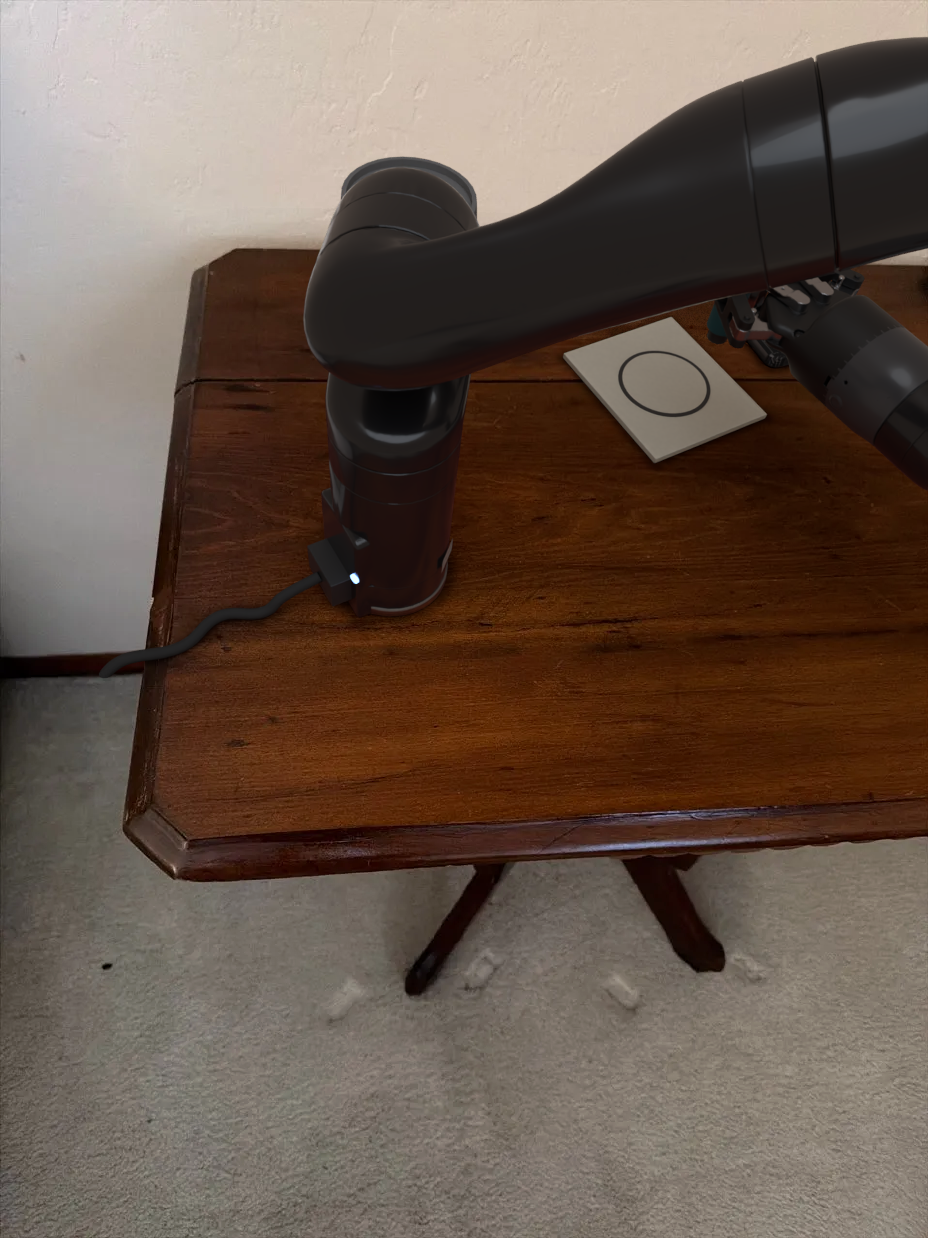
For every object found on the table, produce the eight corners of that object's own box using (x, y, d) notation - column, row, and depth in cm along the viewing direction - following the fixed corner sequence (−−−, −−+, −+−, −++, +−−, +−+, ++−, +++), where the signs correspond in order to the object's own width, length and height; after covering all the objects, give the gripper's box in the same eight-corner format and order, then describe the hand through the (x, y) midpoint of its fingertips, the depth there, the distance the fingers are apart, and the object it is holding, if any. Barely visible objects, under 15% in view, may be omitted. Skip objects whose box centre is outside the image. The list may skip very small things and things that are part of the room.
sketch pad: (654, 463, 83) (656, 458, 83) (562, 357, 90) (563, 352, 90) (765, 418, 88) (767, 413, 87) (669, 320, 95) (671, 315, 94)
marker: (733, 349, 78) (790, 213, 67) (703, 346, 78) (756, 209, 67) (729, 329, 79) (785, 193, 69) (700, 326, 79) (751, 189, 68)
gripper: (958, 305, 66) (800, 181, 73) (824, 360, 61) (670, 222, 68) (907, 382, 72) (767, 261, 79) (782, 438, 67) (645, 303, 74)
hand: (723, 244), depth 74 cm, fingers closed on marker, 2 cm apart
